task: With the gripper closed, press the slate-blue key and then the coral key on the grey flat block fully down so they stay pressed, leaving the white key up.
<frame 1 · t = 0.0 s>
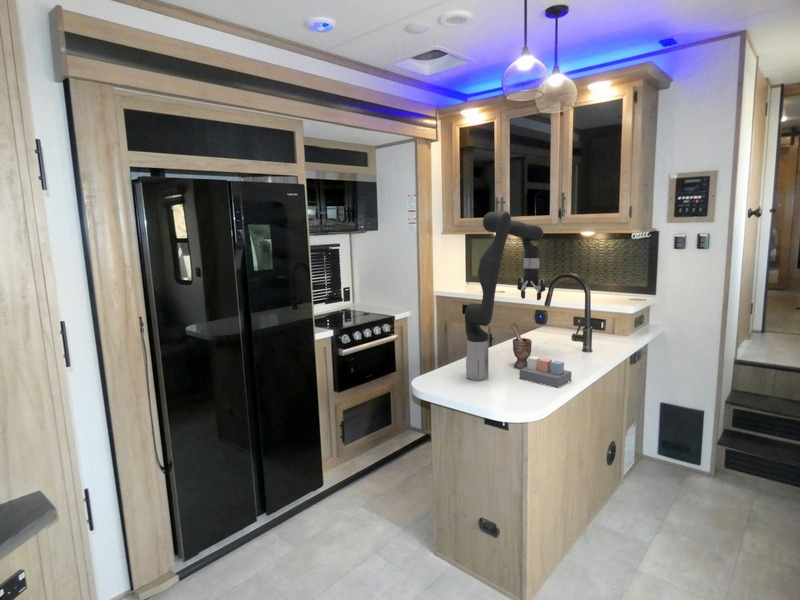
hand: (531, 299, 240), 29 cm above the table, tool pointing down, fingers open, 8 cm apart
mortar and pestle: (519, 366, 228), on the table
grey flat block: (545, 379, 208), on the table
white key: (533, 363, 210), point 6 cm above the table, slide at 0.0 cm
coral key: (545, 365, 207), point 6 cm above the table, slide at 0.0 cm
slate-blue key: (557, 368, 203), point 6 cm above the table, slide at 0.0 cm
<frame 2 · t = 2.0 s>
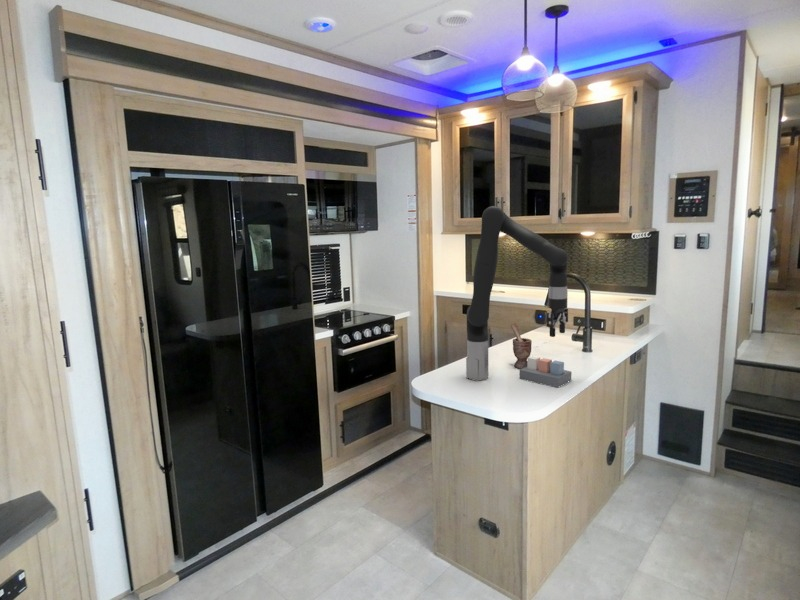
hand: (557, 334, 202), 20 cm above the table, tool pointing down, fingers open, 8 cm apart
nothing on the table moved.
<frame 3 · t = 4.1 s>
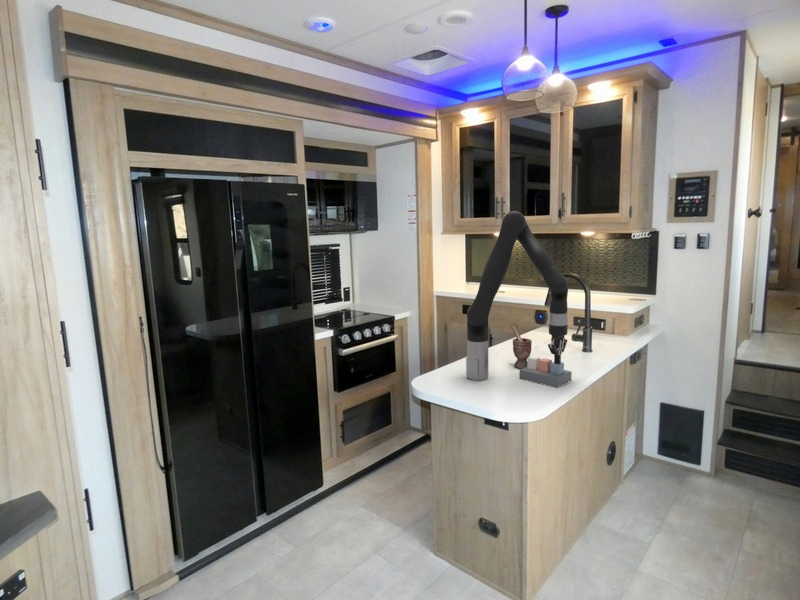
hand: (557, 363, 202), 8 cm above the table, tool pointing down, fingers closed
slate-blue key: (557, 368, 203), point 6 cm above the table, slide at 0.3 cm, touching gripper
everything else where it was.
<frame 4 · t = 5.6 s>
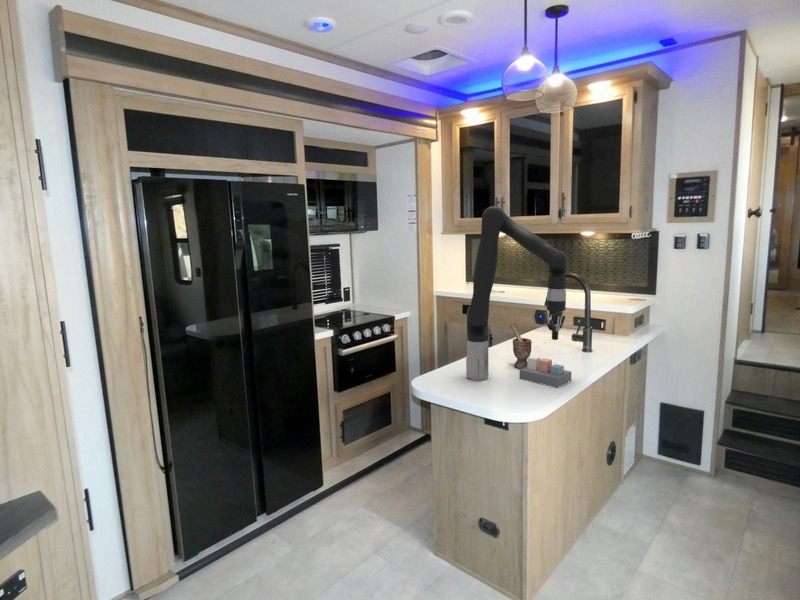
hand: (555, 339, 201), 19 cm above the table, tool pointing down, fingers closed
slate-blue key: (557, 371, 203), point 5 cm above the table, slide at 1.6 cm
everything else where it was.
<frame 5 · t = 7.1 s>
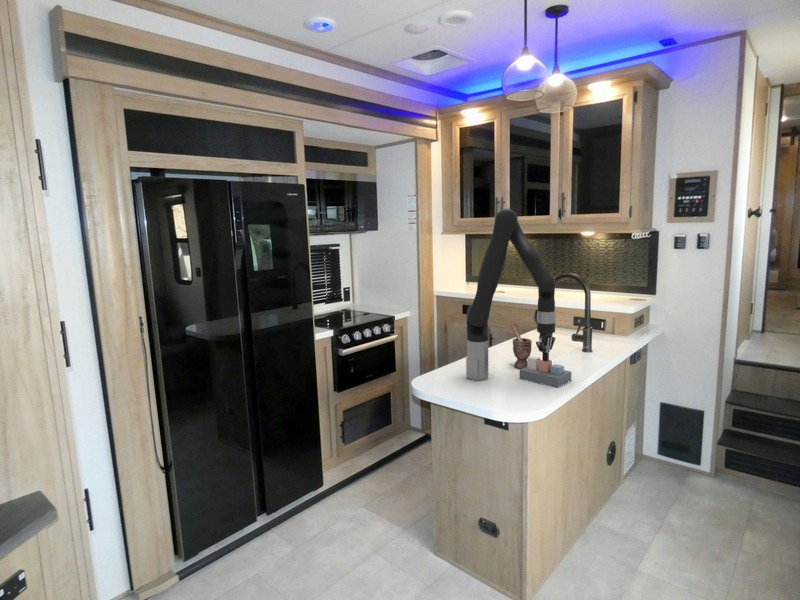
hand: (545, 360, 206), 9 cm above the table, tool pointing down, fingers closed
coral key: (545, 366, 207), point 6 cm above the table, slide at 0.2 cm, touching gripper
everything else where it was.
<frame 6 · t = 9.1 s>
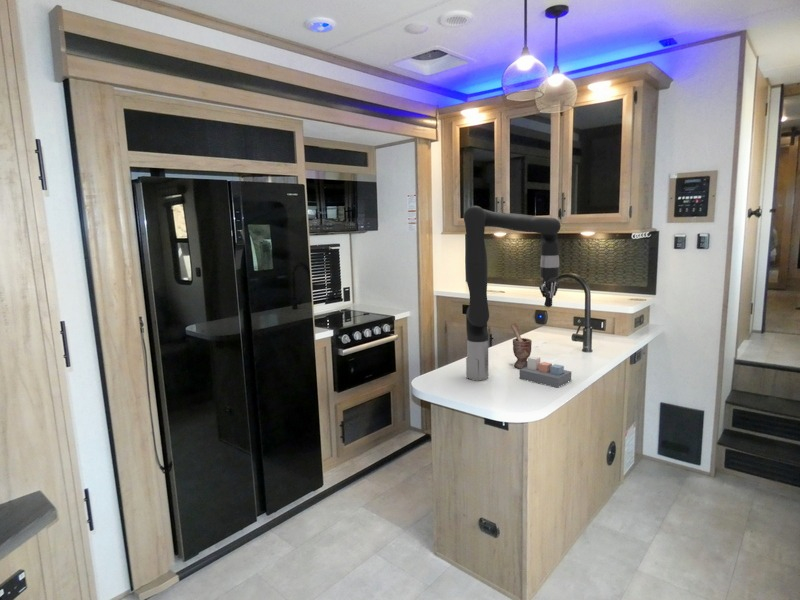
hand: (548, 306, 203), 32 cm above the table, tool pointing down, fingers closed
coral key: (545, 369, 207), point 5 cm above the table, slide at 1.7 cm
everything else where it was.
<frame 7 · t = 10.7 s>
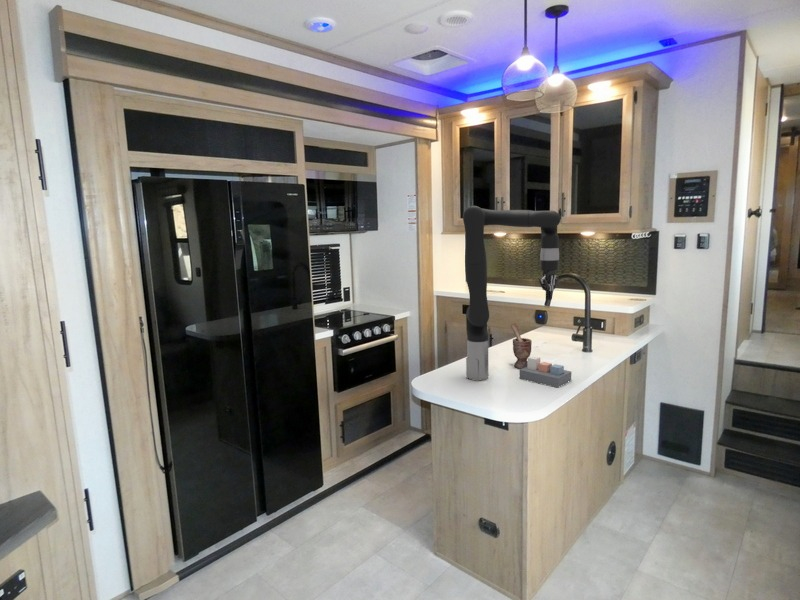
hand: (548, 299, 203), 35 cm above the table, tool pointing down, fingers closed
nothing on the table moved.
at the end: slate-blue key slide at 1.6 cm; coral key slide at 1.7 cm; white key slide at 0.0 cm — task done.
